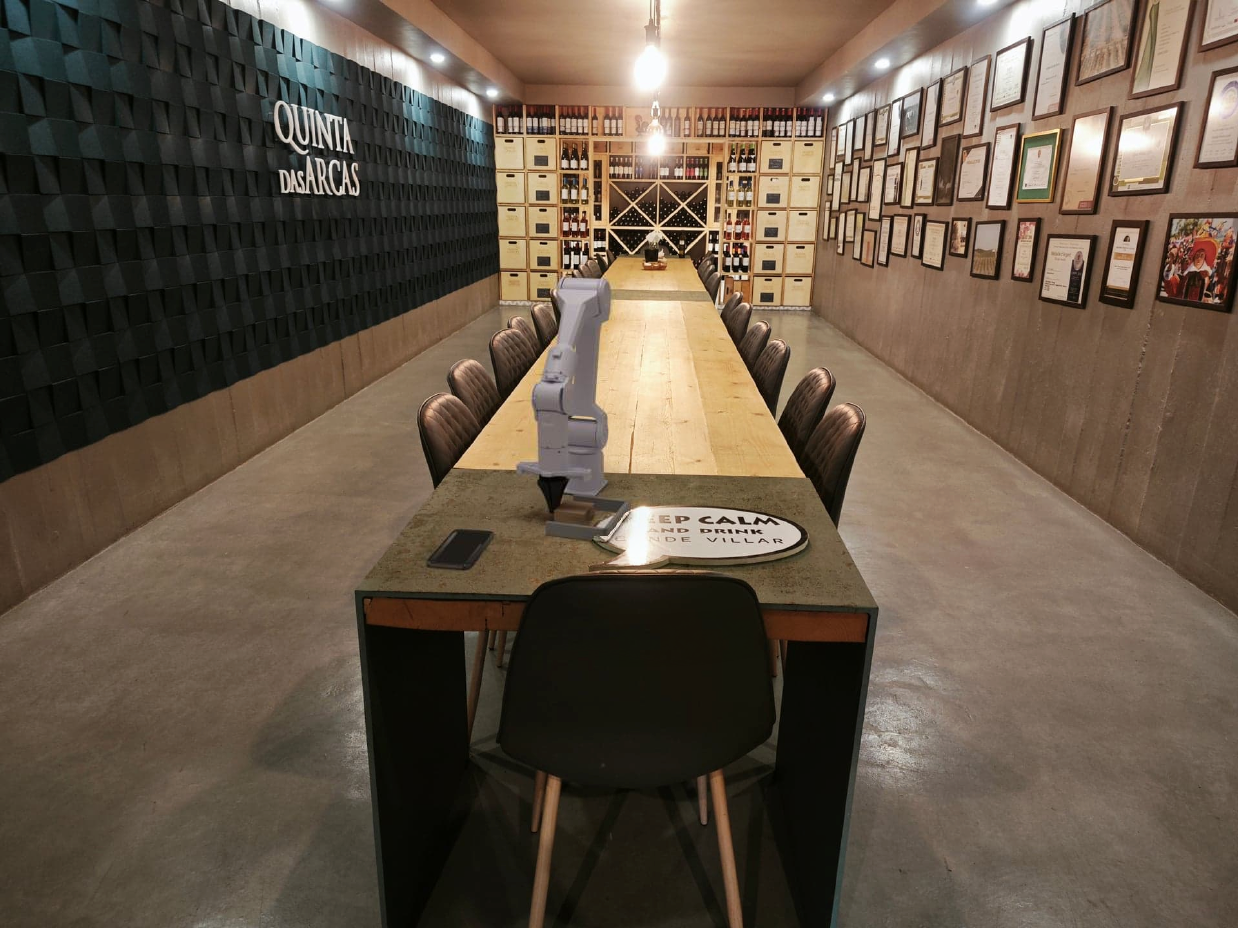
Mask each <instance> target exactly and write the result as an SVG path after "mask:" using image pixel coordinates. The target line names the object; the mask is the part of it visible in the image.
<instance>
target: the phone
mask: <svg viewBox="0 0 1238 928" xmlns="http://www.w3.org/2000/svg"><path fill="white" fill-rule="evenodd" d="M494 538H495V532H494V531H491V530H481V529H480V530H478V529H465V528H458V529H456V528H455V529H453V531H451V532H450V534H449V535H448V536H446V538H445V539H444V540H443V542H442V543H440V545H439V546H438V547H437V548H436V550H434V552H432V554H431V555H430V556H429V557H428V559H426V566H427V568H429V569H430V568H431V569H440V570H441V569H444V570H457V571H467V570H470V569H471V568H473V566H474V565H475V564H476V562H477V561H478V560H479V558H480V557H481V556H482V555H483V553H484V551H485V550H486V549H487V547H488V546H489V545H490V543H491V542H492V541H493V540H494Z"/></svg>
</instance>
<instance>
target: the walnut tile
mask: <svg viewBox="0 0 1238 928" xmlns="http://www.w3.org/2000/svg"><path fill="white" fill-rule="evenodd" d="M553 517H554V518H553V519H554V521H553V522H560V523H568V524H576V525H584V526H589V525H590V523H591V522H592V521H593V520H594V519H595V510H594V503H587V502H578V501H573V500H568V499H564V501H562V502H561V504H560V506H558V507H557V508H556V509H555V510H554V514H553ZM593 518H594V519H593ZM590 521H591V522H590Z"/></svg>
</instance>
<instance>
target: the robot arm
mask: <svg viewBox="0 0 1238 928" xmlns="http://www.w3.org/2000/svg"><path fill="white" fill-rule="evenodd" d="M555 293H556V302H557V306H558V308H559V311H560V313H561V314H560V315H561V316H560V321H559V327H558V331H557V332H558V333H557V339H556V345H554V346H552V347H550V349H549V350H548V352H547V356H546V360H545V364H544V367H543V371H542V375H541V378H540V381H539V382H538V383H535V384H534V386H533V387H532V391H531V399H530V400H531V407H532V410H533V413H534V421H535V422H537V456H538V457H537V459H538V461H532V462H531V461H529V462H528V461H519V462H518V463H517V464H515V467H516V475H523V474H524V475H533V476H538V479H536V484H537V486H538V488H539V489H540V491H541V494H542V495H543V497H544V499H545V502H546V506H547V508H548V509H547V510H548V514H552V515H554V510H555V509H556V508H557V507H558V506H560V505H561V504H562V499H563V496H564V494H571V495H574V494H578V495H587V496H595V497H597V495H598V494H599V492H600V491H602V489H604V487H605V486H606V485H607V484H609V483H608V482H609V481H608V479H607V480H606V479H605V473H604V472H605V466H604V465H605V455H604V452H603V449H604V448H605V447H606V446H607V443H608V439H609V425H608V423H609V422H608V420H609V419H608V414H607V412H606V411H605V410H604V409H602V408H601V407H600V406H599V405H598V404H597V403H596V399H597V397H596V396H597V384H598V383H597V382H598V369H599V356H600V355H599V353H600V341H601V340H600V339H601V331H602V324H604V323H606V322H607V321H609V319H610V314H611V307H612V305H611V303H612V290H611V285H610V282H609V281H608V279H607V278H603V277H602V278H588V277H587V278H585V277H582V278H581V277H567V276H563V277H561V278H560V280H558V282H557V287H556V292H555ZM580 417H583V418H580ZM591 418H593V419H591Z"/></svg>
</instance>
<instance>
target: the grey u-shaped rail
mask: <svg viewBox="0 0 1238 928" xmlns="http://www.w3.org/2000/svg"><path fill="white" fill-rule="evenodd" d="M572 501H578V502H587V503H594V511H602V512H603V511H604V512H610V511H614V512H613V513H615V514H614V515H613V516H612V517H611V519H610V520H609V521H608V523H607V524H606V525H605V526H604V527H601V526H600V527H599V526H589V525H587V526H584V525H576V524H568V523H560V522H554V521H551V520H546V521H545V535H546V536H551V537H559V538H566V539H573V540H580V541H590V542H593V541H592V539H593V538H594V536H597V535H599V536H608V535H609V534H610V532H611V531H612V530H613V529H614V528H615V527H616V525H617V523H618V522H619V521H620V520H621V518H622V517H623V515H624V514H625V513H626V512H628V511H630V510H632V509H631V504H632V503H631V499H630V500H629V499H620V498H612V497H604V496H587V495H578V494H572Z"/></svg>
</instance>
